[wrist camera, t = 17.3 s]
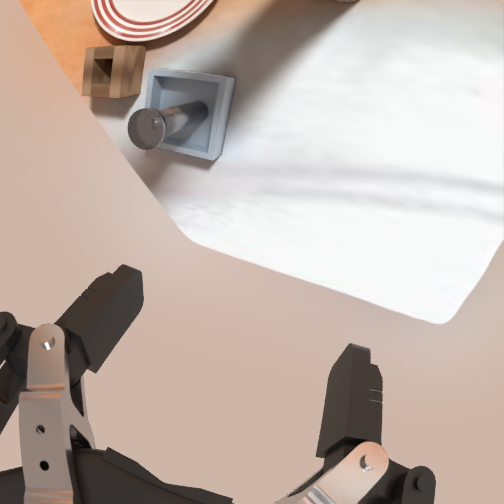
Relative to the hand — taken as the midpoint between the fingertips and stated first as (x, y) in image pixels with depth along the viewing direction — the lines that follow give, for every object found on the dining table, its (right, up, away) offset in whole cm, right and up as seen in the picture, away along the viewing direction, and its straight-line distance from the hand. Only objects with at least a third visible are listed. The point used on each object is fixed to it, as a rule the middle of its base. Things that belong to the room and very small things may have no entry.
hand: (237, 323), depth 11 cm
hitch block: (-22, +35, +31) cm, 52 cm away
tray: (-9, +26, +33) cm, 43 cm away
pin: (-8, +25, +32) cm, 41 cm away
